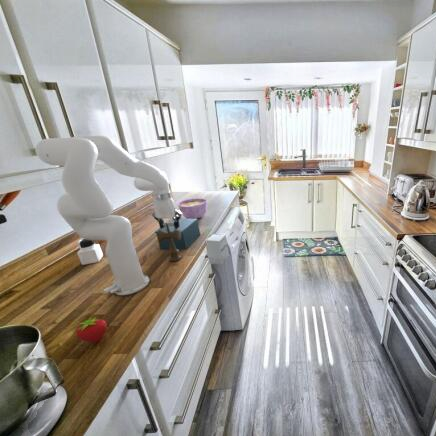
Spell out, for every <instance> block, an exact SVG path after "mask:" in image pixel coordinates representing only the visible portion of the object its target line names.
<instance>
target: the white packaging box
mask: <svg viewBox="0 0 436 436" xmlns="http://www.w3.org/2000/svg"><path fill="white" fill-rule="evenodd" d="M204 241H205V242H204V243H205V247H206V249H205V250H206V253H207V254H206V255H207V259H208V264H209V265H220V266H221V265H224V264H225V262H226V261H227V260H228V259H229V258H230V255H229V247H228V241H227V235H226V234H215V233H214V234H211V235H210V236H209V237H207V238H206V240H204Z"/></svg>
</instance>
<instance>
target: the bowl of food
mask: <svg viewBox="0 0 436 436" xmlns="http://www.w3.org/2000/svg"><path fill="white" fill-rule="evenodd" d="M177 207H178V209H179V212H181V213H182V217H184V218H185V219H200V218H202V217H203V216H204V215H205V214H206V213H207V208H208V199H206V198H201V197H200V198H198V197H197V198H196V197H195V198H189V199H185V200H182V201H179V202H178V203H177Z"/></svg>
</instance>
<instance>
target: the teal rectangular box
mask: <svg viewBox="0 0 436 436" xmlns="http://www.w3.org/2000/svg"><path fill="white" fill-rule="evenodd" d="M155 234H156V236H157V233H155ZM199 237H201V230H200V226H199V220H197V221H196V222H194V223H193V224H192V225H191V226H190V227H188V228H187V229H186V230H185V231H184V232H183V233H181V239H180V240H175V239H173V238H172V240H173V243H174V245H175V247H176V249H178V250H187V249H188V248H189V247H190V246H191V245H193V243H194V242H195V241H196V240H197V239H198V238H199ZM157 242H158V246H159V249H160V250H170V244H169V238H167V239H165V240H163V241H162V242H159V241H158V240H157Z"/></svg>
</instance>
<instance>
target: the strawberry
mask: <svg viewBox="0 0 436 436" xmlns="http://www.w3.org/2000/svg"><path fill="white" fill-rule="evenodd" d="M78 324H79V327H77V329H76V330H75V331H76V332H75V333H76V337H77V338H78V339H80V340H81V341H83V342H88V343H94V344H96V343H99V342H101V340H102V338H103V337H104V336H105V334H106V332H107V330H108V323H107V322H106V320H104V319H100V318H98V317H97V316H96V317H93V318H92V317H91V316H90V317H89V318H88V319H84V321H83V322H80V323H78Z"/></svg>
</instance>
